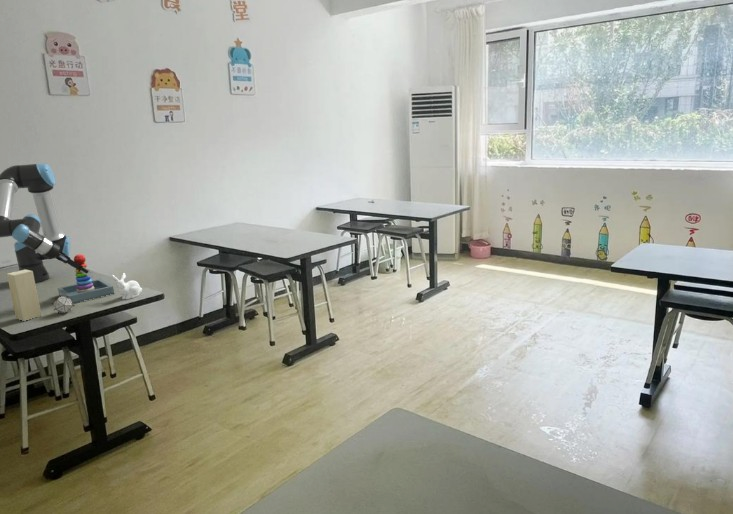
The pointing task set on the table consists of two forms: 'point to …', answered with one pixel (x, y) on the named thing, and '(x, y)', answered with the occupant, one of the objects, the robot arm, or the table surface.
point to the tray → (99, 290)
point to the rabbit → (127, 287)
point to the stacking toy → (82, 276)
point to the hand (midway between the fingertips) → (91, 274)
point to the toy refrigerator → (24, 294)
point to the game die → (63, 304)
